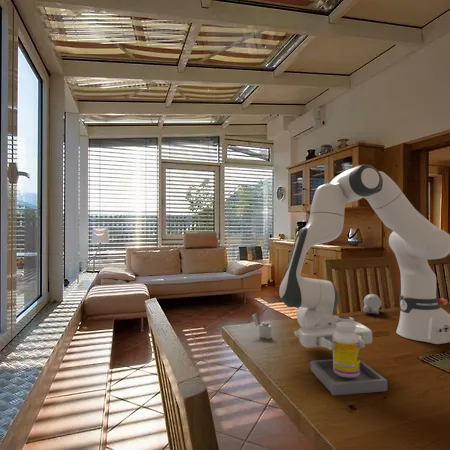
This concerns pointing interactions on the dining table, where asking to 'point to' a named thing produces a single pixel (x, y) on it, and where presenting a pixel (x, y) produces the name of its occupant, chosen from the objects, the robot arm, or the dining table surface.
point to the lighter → (262, 327)
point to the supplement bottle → (346, 351)
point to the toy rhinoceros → (372, 304)
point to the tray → (348, 379)
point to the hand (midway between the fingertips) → (347, 346)
